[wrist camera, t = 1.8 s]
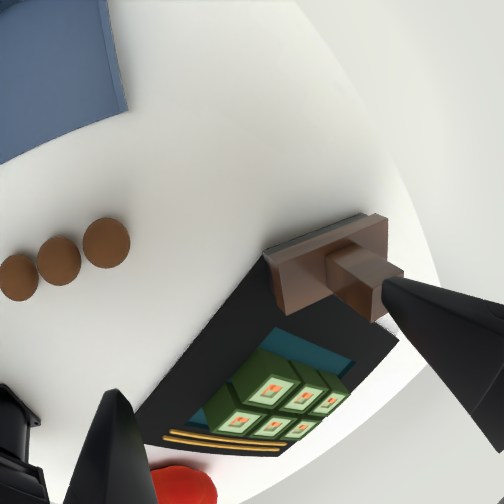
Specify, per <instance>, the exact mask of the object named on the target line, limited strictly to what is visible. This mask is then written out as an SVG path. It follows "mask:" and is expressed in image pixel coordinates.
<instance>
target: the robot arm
mask: <svg viewBox="0 0 504 504" xmlns="http://www.w3.org/2000/svg"><path fill="white" fill-rule="evenodd" d="M381 301H382V304H383V305H384V307H385V308H386V310H387V311H388V312H389V314H390V315H391V317H392V318H393V319H394V321H395V322H396V324H397V325H398V327H399V328H400V330H401V331H402V332H403V334H404V335H405V336H406V338H407V339H408V340H409V341H410V342H411V344H412V345H413V346H414V347H415V348H416V349H417V351H418V352H419V353H420V354H421V355H422V357H423V358H424V359H425V360H426V361H427V363H428V364H429V365H430V366H431V367H432V369H433V370H434V371H435V372H436V373H437V375H438V376H439V377H440V378H441V379H442V381H443V382H444V383H445V384H446V386H447V387H448V388H449V389H450V391H451V392H452V393H453V394H454V395H455V397H456V398H457V399H458V401H459V402H460V403H461V405H462V406H463V407H464V408H465V410H466V411H467V412H468V413H469V415H471V417H472V419H473V420H474V422H475V423H476V424H477V426H478V427H479V428H480V429H481V431H482V432H483V433H484V435H485V436H486V437H487V439H488V440H489V442H490V443H491V444H492V446H493V447H494V448H495V450H496V451H497V452H498V453H500V452H502V451H503V450H504V305H503V304H499V303H495V302H491V301H488V300H483V299H480V298H477V297H473V296H470V295H466V294H462V293H459V292H455V291H451V290H448V289H444V288H440V287H436V286H433V285H429V284H425V283H422V282H418V281H414V280H410V279H407V278H403V277H399V276H395V275H392V276H389V277H388V278H386V279H384V280H383V282H382V291H381ZM40 425H41V420H40V419H39V418H38V417H36V416H35V415H34V414H33V413H32V412H31V411H30V410H29V409H28V408H27V407H26V406H25V405H24V404H23V403H22V402H21V401H20V400H19V399H18V398H17V397H16V396H15V395H14V394H13V392H12V391H11V390H10V389H9V388H8V387H7V386H6V385H3V384H0V504H50V501H49V497H48V493H47V488H46V484H45V479H44V474H43V469H42V468H40V467H35V466H33V465H31V464H28V459H29V438H30V427H36V426H40ZM69 485H70V486H69V487H68V490H67V493H66V496H65V499H64V501H63V504H159V503H158V500H157V496H156V492H155V488H154V484H153V480H152V476H151V472H150V468H149V463H148V459H147V455H146V451H145V447H144V444H143V441H142V438H141V435H140V432H139V428H138V425H137V422H136V418H135V415H134V412H133V408H132V406H131V404H130V402H129V401H128V400H127V399H126V398H125V396H124V395H123V394H122V393H121V392H120V391H119V390H118V389H116V388H115V389H111V390H108V391H106V392H105V393H104V394H103V397H102V399H101V401H100V404H99V406H98V409H97V411H96V414H95V416H94V419H93V421H92V424H91V426H90V429H89V431H88V434H87V437H86V439H85V442H84V445H83V447H82V450H81V453H80V455H79V458H78V461H77V464H76V466H75V469H74V472H73V475H72V478H71V481H70V484H69ZM498 504H504V497H503V498H502V499H501V500H500V501H499V503H498Z"/></svg>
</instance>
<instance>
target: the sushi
mask: <svg viewBox="0 0 504 504" xmlns="http://www.w3.org/2000/svg"><path fill="white" fill-rule="evenodd" d="M268 249H269V248H268ZM399 341H400V340H399V339H398V338H396V337H395V336H394V335H393V334H391V333H390V332H388V331H387V330H385V329H384V328H383V327H381V326H380V325H378V324H377V323H376V322H372V323H370V322H369V321H368V320H366V319H365V318H364V317H363V316H362V315H360V314H359V313H358V312H357V311H355V310H354V309H353V308H352V307H350V306H349V305H348V304H347V303H346V302H344V301H343V300H342V299H341V298H339V297H338V296H337V295H335V294H334V293H333V294H331V295H329V296H327V297H325V298H323V299H321V300H319V301H317V302H315V303H313V304H310V305H308V306H306V307H304V308H302V309H300V310H298V311H296V312H294V313H291V314H289V315H287V316H286V315H285V313H284V312H283V311H282V310H281V309H280V308H279V307H278V306H277V302H276V297H275V296H274V295H273V294H272V292H271V289H270V283H269V277H268V271H267V265H266V262H265V261H264V257H263V255H262V256H261V258H260V259H259V260H258V261H257V263H256V264H255V265H254V266H253V268H252V269H251V270H250V272H249V273H248V274H247V275H246V277H245V278H244V279H243V280H242V282H241V283H240V284H239V285H238V287H237V288H236V289H235V290H234V292H233V293H232V294H231V295H230V297H229V298H228V299H227V300H226V302H225V303H224V304H223V306H222V307H221V308H220V309H219V311H218V312H217V313H216V314H215V316H214V317H213V318H212V319H211V321H210V322H209V323H208V324H207V326H206V327H205V328H204V329H203V331H202V332H201V333H200V334H199V336H198V337H197V338H196V339H195V341H194V342H193V343H192V344H191V346H190V347H189V348H188V349H187V350H186V352H185V353H184V354H183V355H182V357H181V358H180V359H179V360H178V362H177V363H176V364H175V365H174V367H173V368H172V369H171V370H170V372H169V373H168V374H167V375H166V377H165V378H164V379H163V380H162V381H161V383H160V384H159V385H158V386H157V388H156V389H155V390H154V391H153V393H152V394H151V395H150V396H149V397H148V399H147V400H146V401H145V402H144V404H143V405H142V406H141V407H140V409H139V410H138V411H137V412H136V413H135V418H136V422H137V425H138V428H139V432H140V435H141V438H142V441H143V444H147V445H153V446H158V447H164V448H170V449H177V450H184V451H192V452H200V453H210V454H221V455H235V456H258V457H278V456H280V455H281V454H282V453H283V452H285V451H286V450H287V449H289V448H290V447H291V446H292V445H293V444H295V443H296V442H297V441H300V440H301V439H302V438H304V437H305V436H306V435H307V434H308V433H310V432H311V431H312V430H313V429H314V428H315V427H316V426H318V425H319V424H320V423H321V422H322V420H323V419H324V418H325V417H328V416H329V415H330V414H331V413H332V412H333V411H334V410H335V409H336V408H337V407H339V406H340V405H341V404H342V403H343V402H344V401H345V400H346V399H347V398H348V397H349V396H350V395H351V394H350V393H351V392H352V391H353V390H354V389H355V388H356V387H357V386H358V385H359V384H360V383H361V382H362V381H363V380H364V379H365V378H366V377H367V376H368V375H369V374H370V373H371V372H372V371H373V370H374V369H375V368H376V367H377V366H378V364H379V363H380V362H381V361H382V360H383V359H384V358H385V357H386V356H387V355H388V353H389V352H390V351H391V350H392V349H393V348H394V347H395V345H396V344H397V343H398V342H399Z"/></svg>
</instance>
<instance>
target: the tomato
mask: <svg viewBox="0 0 504 504" xmlns="http://www.w3.org/2000/svg"><path fill="white" fill-rule="evenodd" d="M151 476H152V480H153V484H154V488H155V492H156V496H157V500H158V503H159V504H217V497H218V495H217V490H216V487H215V485H214V484H213V482H212V480H211V478H210V477H209V476H208V475H207V474H206V473H204V472H202V471H198V470H193V469H191V468H190V467H186V466H179V465H178V466H169V467H166V468H164V469H156V470H153V471H151Z"/></svg>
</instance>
